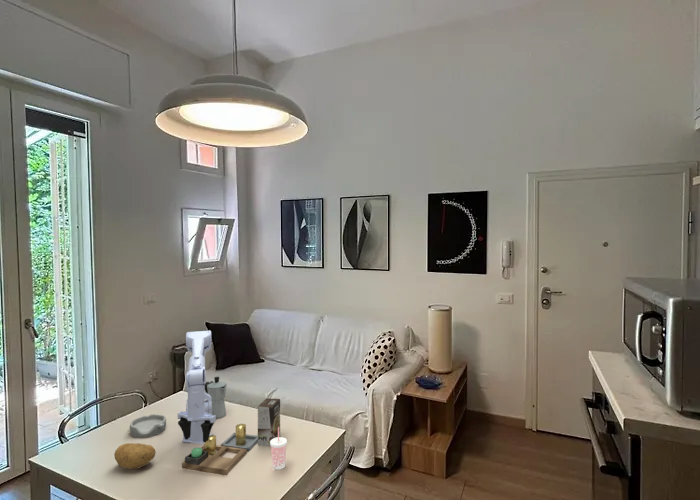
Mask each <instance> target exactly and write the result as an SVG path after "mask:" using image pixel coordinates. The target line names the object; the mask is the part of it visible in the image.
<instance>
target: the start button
mask: <svg viewBox="0 0 700 500" xmlns="http://www.w3.org/2000/svg"><path fill="white" fill-rule="evenodd" d="M190 453H191V458H200V457H201V456H202V448H201V447H194V448H193V449H191V452H190Z"/></svg>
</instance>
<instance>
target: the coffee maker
mask: <svg viewBox="0 0 700 500" xmlns="http://www.w3.org/2000/svg"><path fill="white" fill-rule="evenodd" d="M213 380H214V381H213ZM213 380H211V381H210V382H209V381H206V383H205V392H206V393H207V394H209V395H210V396H211V401H212V414H211V415H216V420H218V419H222V418H225V417H226V416H227V409H226V403H225V398H226V392H227V384H228V383H226V382H225V381H220V376H214V377H213Z"/></svg>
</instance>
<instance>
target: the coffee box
mask: <svg viewBox="0 0 700 500" xmlns="http://www.w3.org/2000/svg"><path fill="white" fill-rule="evenodd" d="M278 427H279V437H281V399H280V398H268V397H266V398H265V399H264V400H263V401H262V402H261V403H260V404H258V406H257V436H258V442H257V446H262V447H270V448H271V446H270V441H271V440H272V439H273V438H276V437H278Z"/></svg>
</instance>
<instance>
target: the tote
mask: <svg viewBox="0 0 700 500" xmlns="http://www.w3.org/2000/svg"><path fill="white" fill-rule="evenodd" d="M257 444H258V435H254V434H247V433H246V444H245V445H242V446H237V445H236V432H233V433H232V434H231V435H230V436H229V437H228V438H226V439H225V440H224V441H223V442H222V443H221V444H220V446H226V447H234V448H241V449H247V453H249V451H251V450H252V448H254V447H255V445H257Z"/></svg>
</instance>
